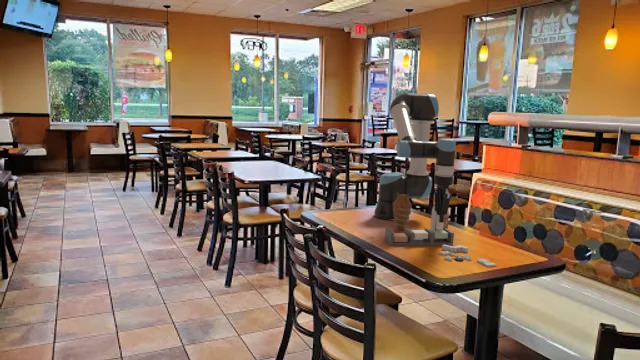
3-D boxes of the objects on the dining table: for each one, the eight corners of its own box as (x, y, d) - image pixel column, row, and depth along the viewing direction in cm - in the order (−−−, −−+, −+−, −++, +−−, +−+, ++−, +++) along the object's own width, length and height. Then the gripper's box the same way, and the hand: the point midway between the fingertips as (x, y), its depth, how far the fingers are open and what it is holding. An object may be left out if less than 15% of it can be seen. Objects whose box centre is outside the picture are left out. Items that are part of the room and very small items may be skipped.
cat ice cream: (390, 230, 220) (392, 193, 217) (393, 226, 227) (395, 190, 224) (409, 233, 217) (411, 195, 214) (411, 229, 224) (414, 192, 221)
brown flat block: (390, 238, 202) (390, 233, 202) (403, 238, 203) (403, 233, 203) (393, 241, 198) (394, 236, 197) (407, 241, 198) (407, 236, 198)
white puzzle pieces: (451, 271, 169) (451, 265, 169) (417, 251, 191) (417, 246, 191) (496, 267, 176) (497, 261, 176) (459, 248, 198) (459, 243, 198)
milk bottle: (427, 235, 214) (431, 192, 211) (432, 232, 221) (435, 190, 218) (444, 238, 210) (448, 195, 207) (448, 234, 217) (452, 192, 214)
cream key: (410, 235, 204) (410, 230, 203) (423, 235, 205) (423, 230, 204) (414, 238, 199) (414, 233, 198) (427, 238, 200) (428, 233, 199)
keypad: (384, 240, 204) (385, 228, 203) (445, 239, 208) (446, 227, 207) (390, 245, 196) (391, 233, 195) (453, 245, 200) (454, 232, 200)
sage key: (429, 235, 205) (430, 229, 205) (442, 235, 206) (443, 229, 206) (434, 238, 200) (434, 233, 200) (447, 238, 201) (448, 233, 201)
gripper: (429, 172, 205) (425, 225, 208) (441, 177, 192) (437, 233, 196) (445, 173, 206) (441, 225, 209) (459, 177, 193) (454, 233, 197)
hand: (439, 229), depth 202 cm, fingers closed
